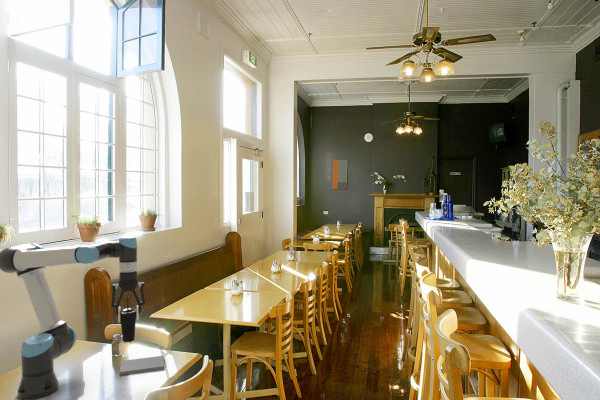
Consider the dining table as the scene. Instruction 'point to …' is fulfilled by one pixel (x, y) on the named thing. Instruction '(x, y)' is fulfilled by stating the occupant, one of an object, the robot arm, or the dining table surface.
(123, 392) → the dining table surface
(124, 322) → the drinking cup
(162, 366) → the slate board
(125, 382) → the dining table surface
